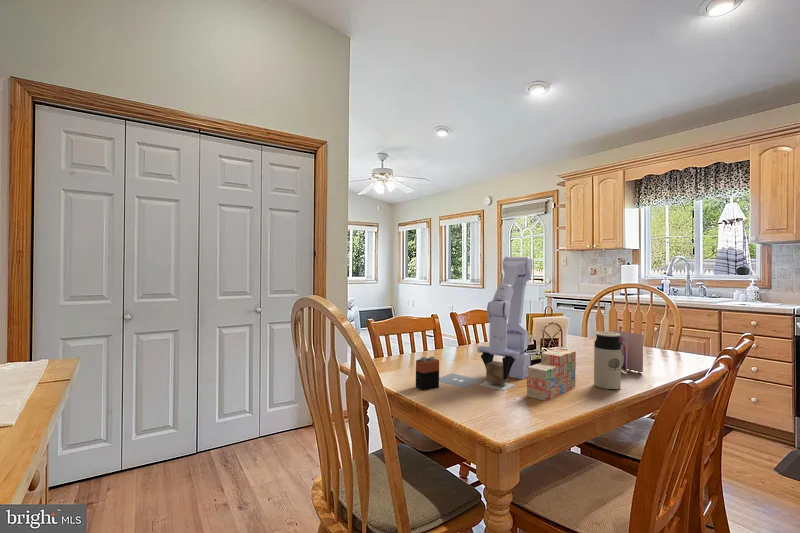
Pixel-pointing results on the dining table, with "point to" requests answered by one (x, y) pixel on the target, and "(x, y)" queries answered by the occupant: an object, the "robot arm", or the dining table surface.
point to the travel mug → (607, 360)
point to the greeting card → (631, 351)
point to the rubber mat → (497, 386)
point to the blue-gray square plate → (459, 380)
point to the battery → (427, 373)
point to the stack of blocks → (552, 374)
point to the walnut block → (495, 373)
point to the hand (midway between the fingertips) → (497, 376)
